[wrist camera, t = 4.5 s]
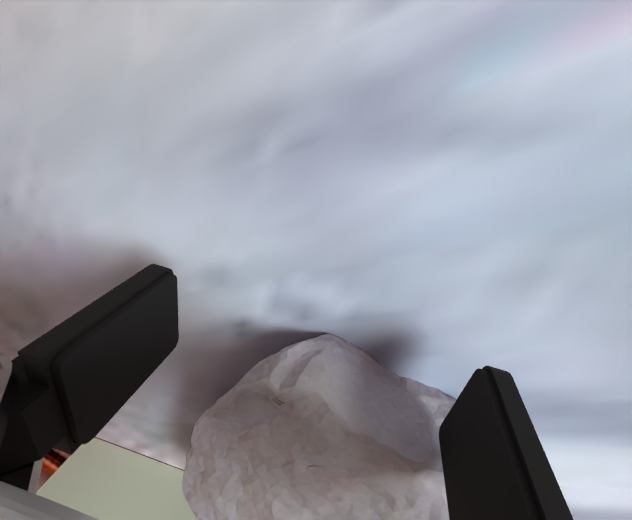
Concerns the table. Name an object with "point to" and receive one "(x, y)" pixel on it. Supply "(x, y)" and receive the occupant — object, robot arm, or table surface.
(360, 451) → the grey rock
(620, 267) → the table surface
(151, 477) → the board
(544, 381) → the table surface
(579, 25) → the table surface
